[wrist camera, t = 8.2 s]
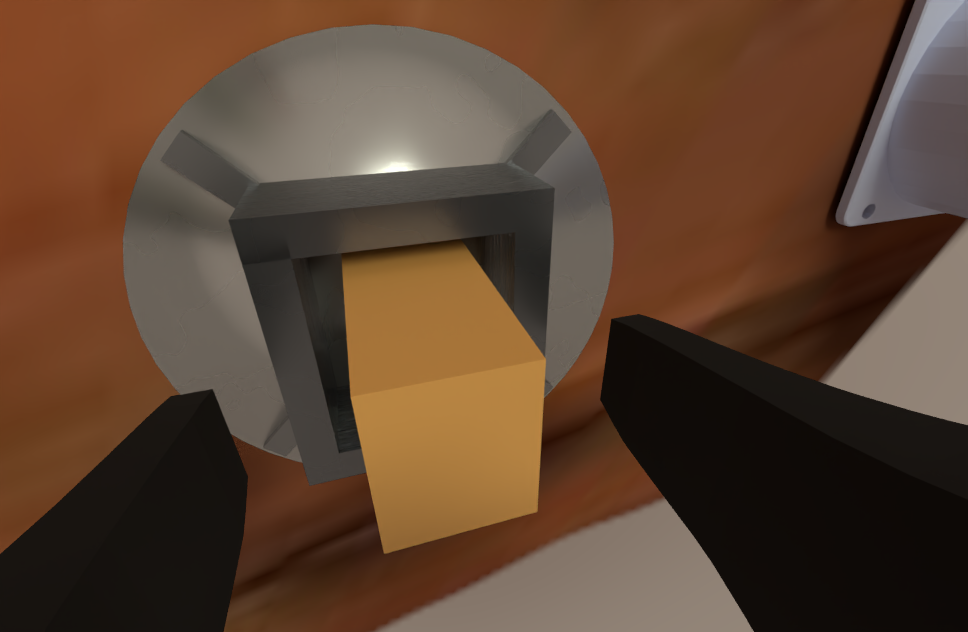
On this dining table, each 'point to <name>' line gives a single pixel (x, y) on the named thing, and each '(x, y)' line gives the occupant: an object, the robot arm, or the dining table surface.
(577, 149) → the square-hole metal disc
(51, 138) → the dining table surface
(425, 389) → the orange square peg
